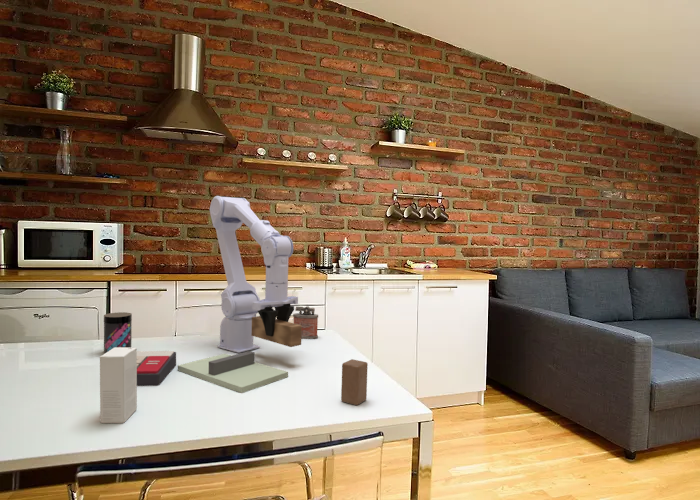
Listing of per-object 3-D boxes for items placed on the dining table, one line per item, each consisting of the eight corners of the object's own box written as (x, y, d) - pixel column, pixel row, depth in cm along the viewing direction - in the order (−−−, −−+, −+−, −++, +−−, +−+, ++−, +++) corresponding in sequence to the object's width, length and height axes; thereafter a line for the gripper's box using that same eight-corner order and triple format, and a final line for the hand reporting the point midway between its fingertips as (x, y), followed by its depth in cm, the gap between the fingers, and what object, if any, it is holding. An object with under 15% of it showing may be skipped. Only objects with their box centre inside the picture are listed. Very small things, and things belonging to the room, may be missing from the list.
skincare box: (113, 410, 86) (113, 346, 85) (137, 409, 86) (137, 347, 86) (98, 423, 80) (98, 356, 79) (124, 423, 80) (124, 356, 80)
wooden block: (357, 406, 91) (358, 366, 91) (340, 401, 93) (341, 363, 93) (367, 400, 94) (368, 362, 94) (350, 395, 97) (351, 358, 96)
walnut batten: (251, 335, 124) (251, 317, 123) (261, 333, 126) (261, 315, 126) (291, 347, 113) (291, 327, 113) (301, 344, 116) (301, 325, 116)
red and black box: (105, 371, 98) (130, 348, 113) (105, 390, 98) (130, 365, 113) (159, 370, 99) (176, 348, 114) (159, 389, 100) (176, 365, 114)
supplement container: (97, 356, 120) (98, 316, 119) (112, 349, 126) (112, 311, 126) (123, 357, 119) (123, 317, 119) (136, 350, 126) (136, 312, 126)
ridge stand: (177, 370, 110) (177, 353, 110) (225, 358, 121) (225, 343, 121) (241, 393, 96) (241, 374, 96) (288, 376, 108) (288, 360, 107)
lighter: (318, 337, 147) (319, 306, 147) (316, 339, 144) (317, 308, 143) (293, 335, 148) (294, 305, 147) (291, 338, 145) (292, 306, 144)
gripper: (266, 286, 111) (265, 341, 111) (306, 281, 122) (305, 332, 123) (247, 283, 115) (246, 337, 116) (287, 279, 127) (286, 328, 127)
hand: (275, 334), depth 120 cm, fingers closed on walnut batten, 4 cm apart
